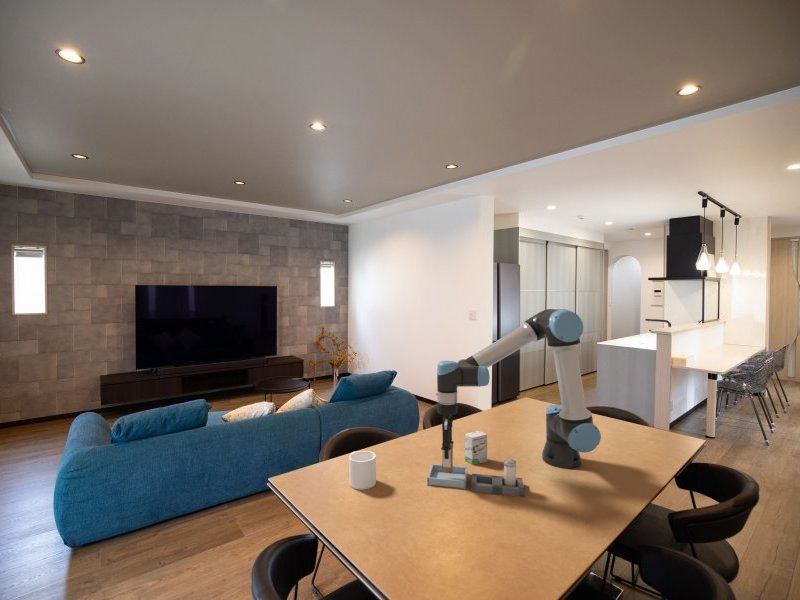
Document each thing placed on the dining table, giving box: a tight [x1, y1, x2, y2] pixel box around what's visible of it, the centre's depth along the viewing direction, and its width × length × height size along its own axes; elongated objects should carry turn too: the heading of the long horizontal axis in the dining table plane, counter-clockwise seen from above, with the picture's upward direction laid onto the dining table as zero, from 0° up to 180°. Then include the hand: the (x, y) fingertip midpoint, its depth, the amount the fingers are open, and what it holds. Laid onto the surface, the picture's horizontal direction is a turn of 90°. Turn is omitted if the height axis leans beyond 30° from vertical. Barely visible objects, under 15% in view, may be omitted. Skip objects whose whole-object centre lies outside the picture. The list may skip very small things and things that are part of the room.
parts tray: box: [426, 463, 469, 490], centre depth 145 cm, size 14×12×3 cm
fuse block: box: [470, 473, 525, 498], centre depth 138 cm, size 18×9×3 cm, turn 77°
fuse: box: [503, 458, 517, 487], centre depth 137 cm, size 4×4×10 cm
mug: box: [348, 450, 377, 491], centre depth 144 cm, size 13×10×10 cm
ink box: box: [464, 430, 488, 466], centre depth 161 cm, size 8×5×12 cm, turn 120°
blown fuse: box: [441, 442, 454, 473], centre depth 145 cm, size 4×4×10 cm
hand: (447, 463), depth 145 cm, fingers closed on blown fuse, 4 cm apart
